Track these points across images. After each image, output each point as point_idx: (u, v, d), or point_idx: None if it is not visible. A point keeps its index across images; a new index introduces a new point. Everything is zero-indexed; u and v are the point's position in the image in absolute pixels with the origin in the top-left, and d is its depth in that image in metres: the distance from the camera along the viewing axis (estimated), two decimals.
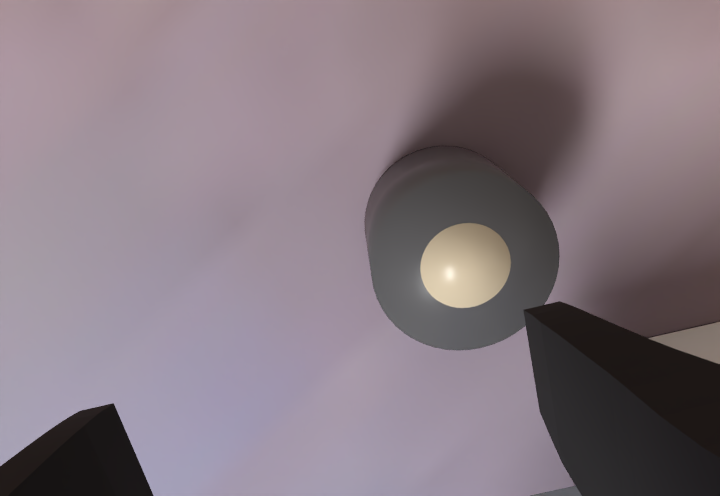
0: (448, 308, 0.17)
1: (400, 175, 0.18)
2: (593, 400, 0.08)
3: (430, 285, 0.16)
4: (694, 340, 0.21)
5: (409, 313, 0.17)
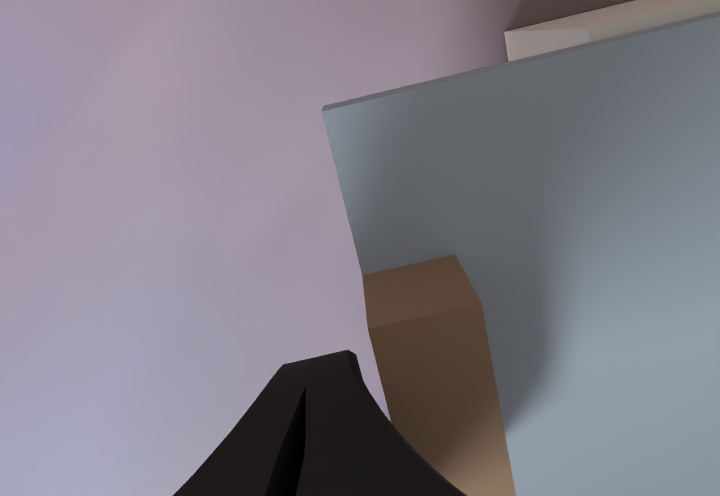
0: None
1: None
2: None
3: None
4: (618, 5, 0.15)
5: None
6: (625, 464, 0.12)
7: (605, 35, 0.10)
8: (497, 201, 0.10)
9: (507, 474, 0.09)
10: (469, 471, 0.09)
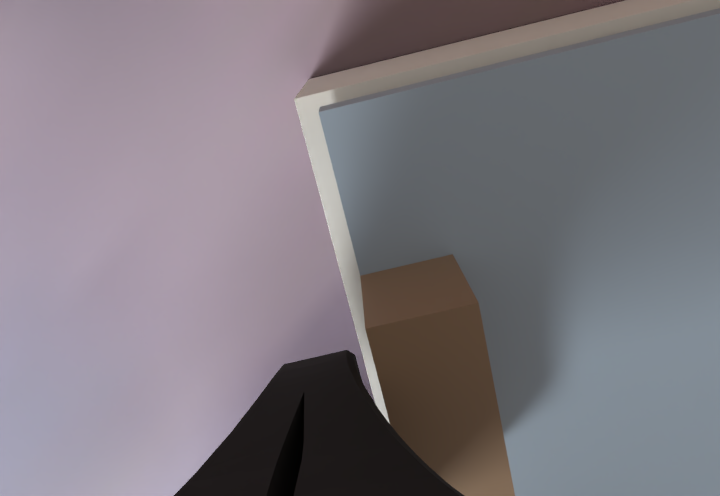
0: None
1: None
2: None
3: None
4: (410, 55, 0.15)
5: None
6: (625, 463, 0.12)
7: (311, 105, 0.10)
8: (494, 200, 0.10)
9: (506, 473, 0.09)
10: (467, 470, 0.09)
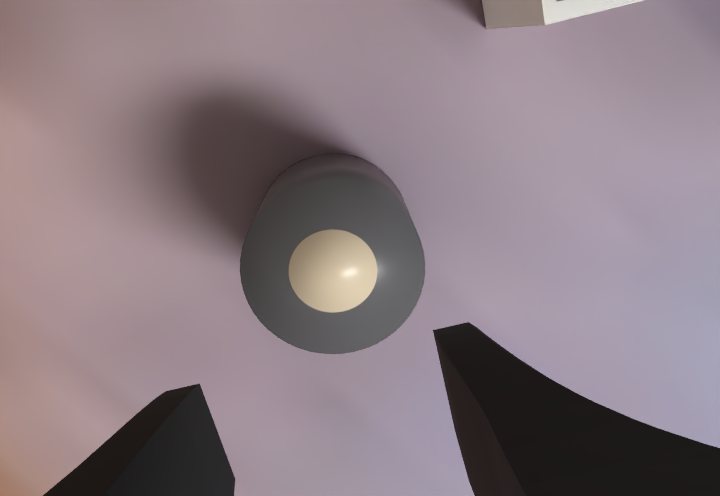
0: (378, 284, 0.17)
1: None
2: (475, 426, 0.08)
3: (352, 302, 0.17)
4: None
5: (381, 319, 0.17)
6: None
7: (551, 10, 0.13)
8: None
9: None
10: None
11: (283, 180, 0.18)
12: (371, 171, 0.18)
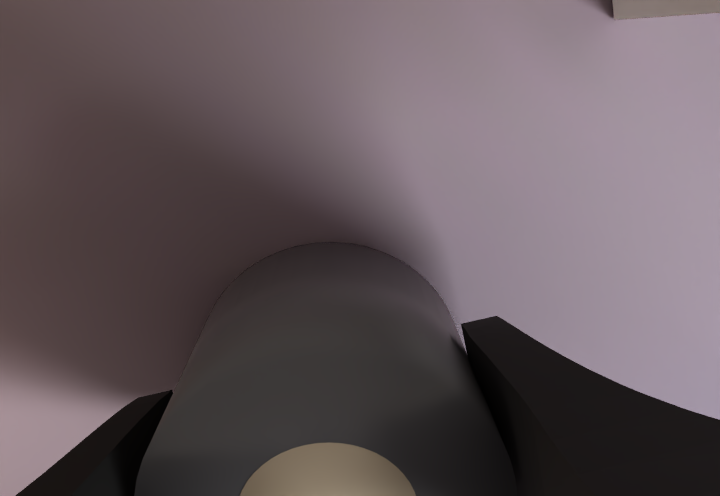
0: None
1: None
2: (511, 418, 0.08)
3: None
4: None
5: None
6: None
7: None
8: None
9: None
10: None
11: (233, 309, 0.09)
12: (400, 286, 0.10)
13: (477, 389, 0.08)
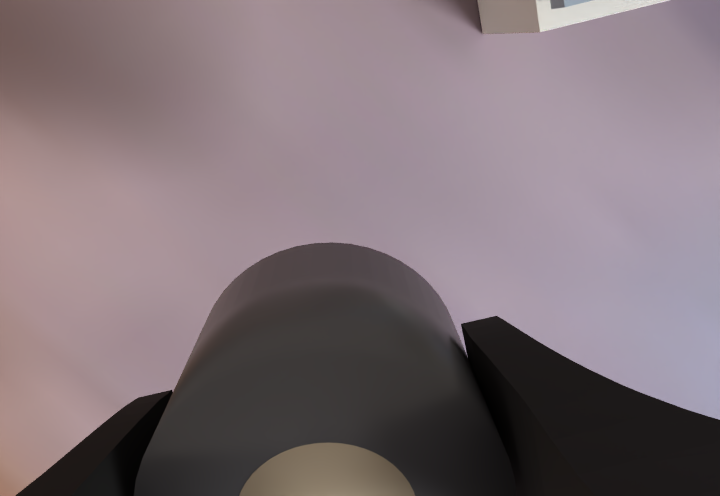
0: None
1: None
2: (511, 418, 0.08)
3: None
4: None
5: None
6: None
7: (546, 17, 0.13)
8: None
9: None
10: None
11: (233, 309, 0.09)
12: (400, 286, 0.10)
13: (476, 389, 0.08)
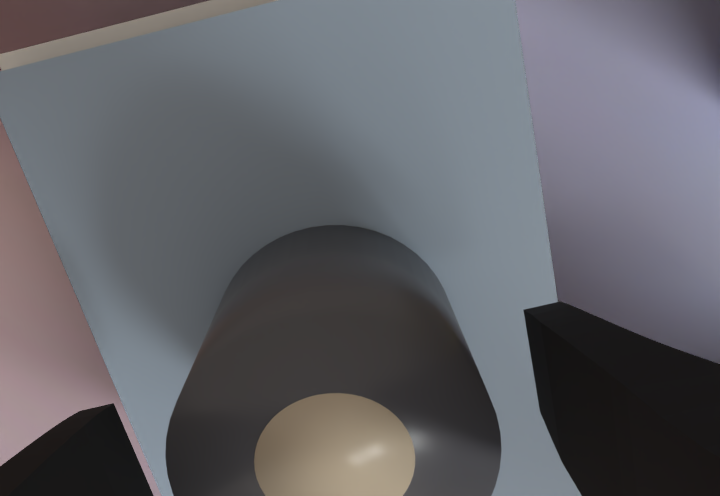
0: (415, 485, 0.09)
1: None
2: (593, 400, 0.08)
3: None
4: None
5: None
6: None
7: None
8: None
9: None
10: None
11: (254, 279, 0.10)
12: (404, 265, 0.11)
13: (469, 355, 0.10)
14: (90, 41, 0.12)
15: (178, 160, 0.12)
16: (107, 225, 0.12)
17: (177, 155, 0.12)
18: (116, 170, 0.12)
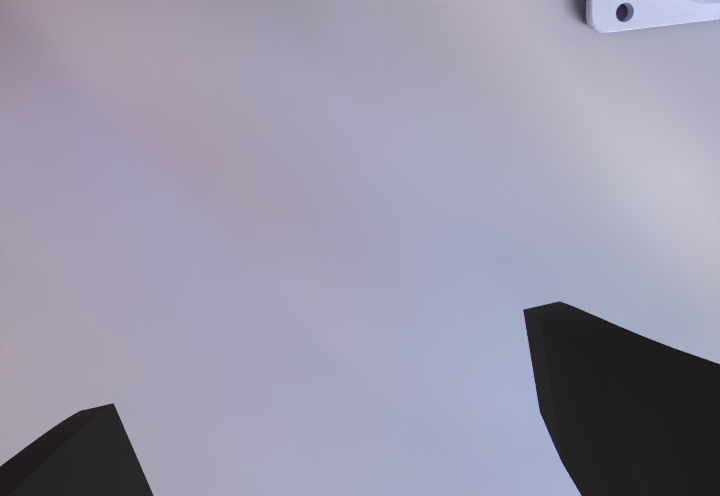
0: None
1: None
2: (593, 400, 0.08)
3: None
4: None
5: None
6: None
7: None
8: None
9: None
10: None
11: None
12: None
13: None
14: None
15: None
16: None
17: None
18: None
